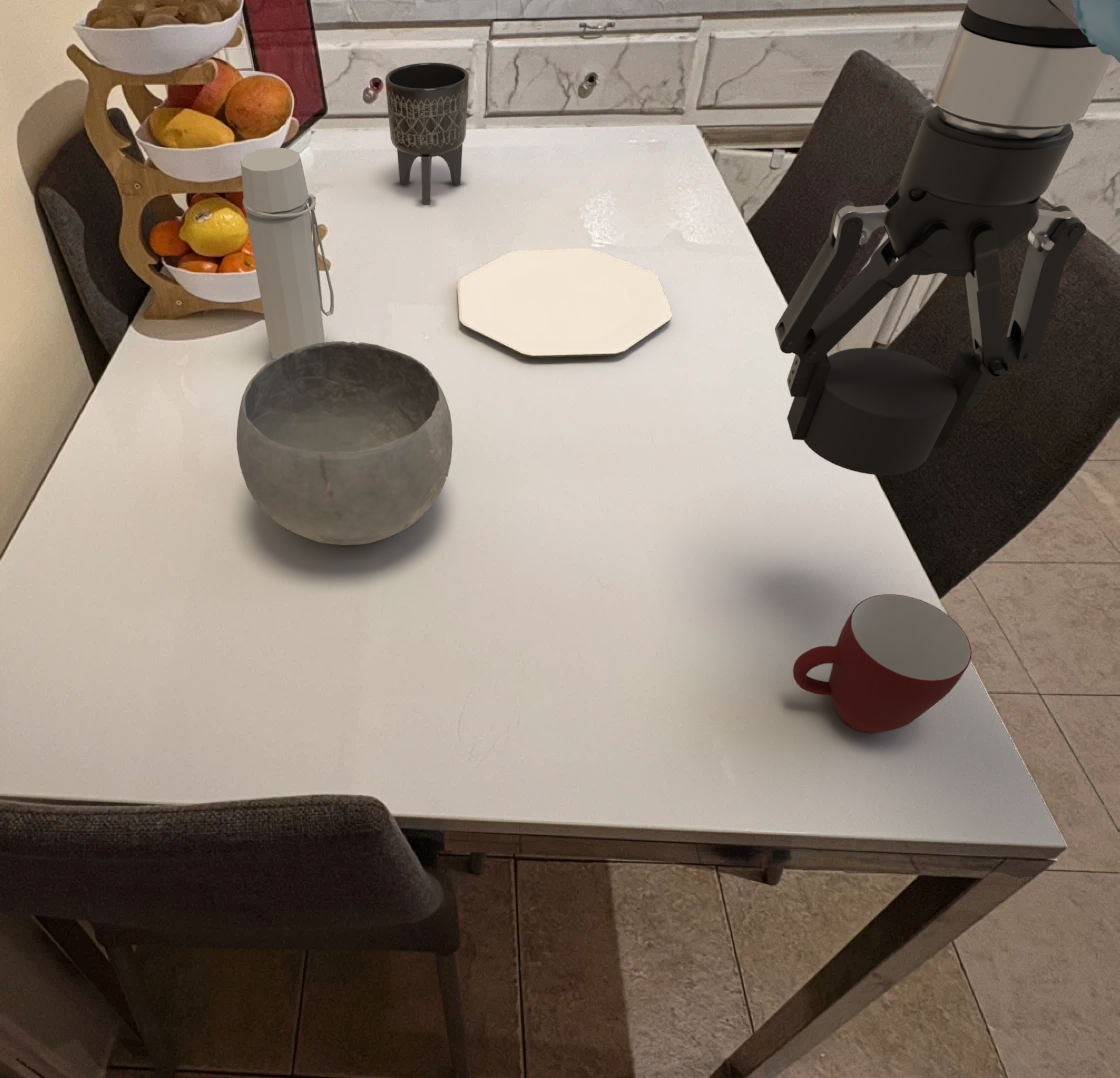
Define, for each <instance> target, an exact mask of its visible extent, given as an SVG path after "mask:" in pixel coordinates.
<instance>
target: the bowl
mask: <svg viewBox="0 0 1120 1078" xmlns="http://www.w3.org/2000/svg"><path fill="white" fill-rule="evenodd" d="M448 404H449V403H448V401H447V398H446V396H445V392H444V391H443V389H442V387H441V385H440V384H439V382H438V381H437V379H436V378H435V376H434V375H433V373H432V371H431V370H430V369H429V368H428V367H427V366H425V365H424V364H423V363H422V362H421V361H419V360H418V359H416V358H415V357H413V356H410V355H408V354H405V353H403V352H401V351H400V352H399V351H397V350H394V349H391V348H388V347H385V346H382V345H379V344H374V343H368V342H355V341H344V340H340V341H325V342H323V343H316V344H312V345H308V346H305V347H301V348H298V349H295V350H293V351H290V352H287V353H285V354H283V355H280V356H278V357H276V358H275V359H273V360H272V359H271V360H270V361H268V362H267V363H265V364H264V365H263V366H261V367H260V369H259V370H258V371H257V372H256V374H255V375H254V376H253V377H251V379H250V381H249V382H247V385H246V387H245V389H244V391H243V394H242V395H241V401H240V405H239V410H238V416H237V426H236V451H237V457H238V463H239V467H240V470H241V474H242V477H243V480H244V483H245V485H246V488H247V490H248V491H249V493H250V495H251V497H252V499H253V500H254V502H255V503H256V504H257V505H258V506H259V507H260V509H261V510H262V511H263V512H264V513H265V514H266V515H267V516H268V517H270V518H271V520H273V521H274V522H275V523H277V524H278V525H279V526H281V527H283V528H284V529H286V530H288V531H289V532H292V533H293V534H296V535H299V536H301V537H303V538H306V539H309V540H311V541H314V542H318V543H320V544H329V545H340V546H354V545H355V546H357V545H366V544H371V543H375V542H379V541H382V540H384V539H388V538H390V537H392V536H395V535H397V534H399V533H401V532H403V531H404V530H407V529H408V528H409V527H411V526H413V525H414V524H415V523H417V522H418V520H419V519H420V518H422V517H423V516H424V515H425V514H426V513H427V512H428V511H429V509H431V507H432V505H433V504H434V502H435V501H436V499H437V498H438V496H439V495H440V493H441V492H442V489H443V488H444V486H445V483H446V481H447V477H448V476H449V472H450V468H451V465H452V456H453V455H452V454H453V442H454V441H453V423H452V416H451V411H450V408H449V405H448Z"/></svg>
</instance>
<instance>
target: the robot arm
mask: <svg viewBox="0 0 1120 1078" xmlns="http://www.w3.org/2000/svg"><path fill="white" fill-rule="evenodd" d="M960 18H961V19H960V20H959V23H958V26H957V29H956V31H955V34H954V36H953V38H952V42H951V45H950V47H949V49H948V52H947V54H946V58H945V60H944V63H943V66H942V68H941V71H940V73H939V76H938V79H937V82H936V85H935V87H934V90H933V92H932V100H933V102H934V104H935V106H934V107H932V108H931V109H930V110H928V111H927V112H926V113H925V114H924V116H923V118H922V120H921V123H920V126H919V128H918V131H917V134H916V137H915V140H914V142H913V145H912V148H911V150H910V153H909V156H908V158H907V160H906V164H905V166H904V169H903V172H902V176H901V179H900V182H899V184H898V187H897V188H896V190H895V191H894V192H893V193H892V194H891V195H890V196H889V197H888V199H886V201H885V202H884V203H883V204H878V205H865V206H855V204H854V202H852V201H850V200H843V201H841V202H839V203H837V204H836V206H835V207H834V209H833V214H832V218H831V223H830V228H829V234H828V236H827V239H826V240H825V242H824V243H823V245H822V247H821V248H820V250H819V252H818V254H817V255H816V257H815V259H814V260H813V262H812V264H811V265H810V267H809V269H808V271H807V272H806V274H805V275H804V277H803V279H802V281H801V283H800V284H799V286H798V287H797V289H796V291H795V292H794V294H793V296H792V297H791V300H789V302H788V305H787V306H786V308H785V309H784V311H783V313H782V315H781V316H780V318H779V320H778V322H777V323H776V325H775V326H774V332H775V336H776V340H777V343H778V346H779V350H780V351H781V352H782V353H783V354H787V355H789V354H795V355H794V357H793V360H792V364H791V367H790V369H789V373H788V375H787V378H786V383H787V388H788V391H789V395H790V397H791V398H793V400H792V402H791V404H790V408H789V411H788V413H787V417H786V420H787V423H788V427H789V430H790V434H791V438H792V440H794V441H804V437H805V435H806V432H807V429H808V427H809V424H810V421H811V419H812V416H813V414H814V411H815V408H816V406H817V403H818V400H819V398H820V395H821V392H822V390H823V387H824V384H825V382H826V379H827V376H828V374H829V371H830V368H831V364H830V361H829V358H828V357H829V355H828V353H829V352H830V351H831V350H832V349H833V348H834V347H836V345H837V344H839V342H841V340H843V338H844V337H846V336H847V335H848V333H849V332H851V331H852V330H853V329H854V328H855V326H857V324H858V323H860V322H861V321H862V320H863V319H865V318H864V317H866V316H867V315H868V314H869V313H870V312H871V311H872V310H873V309H874V308H875V307H876V306H878V304H879V303H880V302H881V301H882V300H883V299H884V298H885V297H886V296H887V295H888V294H889V293H890V292H891V291H892V290H893V289H898V288H901V287H902V286H903V285H905V284H906V282H907V281H908V280H909V279H910V278H912V276H929V275H930V276H931V275H935V274H944V275H947V276H950V277H963V278H964V279H965V288H966V295H967V297H966V298H967V305H968V313H969V322H970V331H971V339H972V345H973V346H972V347H973V350H974V353H973V355H972V352H971V351H959V350H958V352H957V353H956V356H955V357H954V359H953V361H952V364H951V366H950V368H949V369H948V372H947V374H946V375H947V376H948V377H949V378H950V379H951V381H952V382H953V384H954V385H955V388H956V390H957V400H956V403H955V405H954V407H953V409H952V411H951V413H950V415H949V417H948V418H947V420H946V422H945V424H944V426H943V428H942V430H941V432H940V434H939V436H938V438H937V440H936V442H935V444H934V446H933V448H932V449H939V450H942V449H944V448H945V446H946V444H947V442H948V440H949V439H950V437H951V435H952V433H953V431H954V429H955V427H956V425H957V423H959V422H958V421H959V419H960V418H961V416H962V414H963V412H964V410H965V408H966V407H976V406H977V405H979V403H980V402H981V401H982V400H983V398H984V396H985V394H986V392H987V391H988V388H989V386H990V385H991V383H992V381H993V379H998V378H999V379H1000V378H1002V377H1005V375H1007V374H1008V373H1009V372H1010V370H1011V369H1010V364H1015V363H1019V364H1021V365H1025V366H1027V365H1031V364H1034V363H1035V362H1037V360H1039V358H1040V356H1041V353H1042V349H1043V347H1044V343H1045V342H1044V341H1045V338H1046V335H1047V331H1048V328H1049V323H1050V319H1051V316H1052V313H1053V309H1054V306H1055V301H1056V298H1057V294H1058V291H1059V287H1060V283H1061V280H1062V276H1063V273H1064V269H1065V265H1066V263H1067V259H1068V258H1069V256H1070V255H1071V253H1072V252H1073V251H1074V250H1075V248H1076V246H1077V245H1078V243H1079V242H1080V241H1081V239H1082V238H1083V236H1084V235H1085V233H1086V231H1087V226H1086V225H1085V223H1084V222H1083V221H1082V220H1081V219H1080V218H1079V217H1078V215H1076V214H1075V213H1074V212H1073V211H1072V210H1071V208H1070V207H1068V206H1067V205H1065V204H1064V205H1062V204H1061V205H1058V206H1055V207H1053V208H1052V209H1051V210H1049V209H1043V208H1039V202H1040V198H1041V196H1042V195H1043V194H1044V193H1045V192H1046V191H1047V190H1048V189H1049V186H1050V184H1051V183H1052V181H1053V179H1054V177H1055V175H1056V172H1057V171H1058V169H1059V166H1060V165H1061V163H1062V161H1063V158H1064V157H1065V155H1066V152H1067V151H1068V148H1069V147H1070V145H1071V142H1072V140H1073V138H1074V135H1075V133H1074V131H1073V126H1072V125H1071V124H1073V123H1075V122H1077V121H1079V120H1081V119H1082V118H1084V117H1085V115H1086V113H1087V112H1088V109H1089V107H1090V105H1091V103H1092V101H1093V99H1094V98H1095V95H1096V93H1097V90H1098V88H1099V86H1100V85H1101V82H1102V80H1103V78H1104V76H1105V74H1106V73H1107V70H1108V68H1109V66H1110V64H1111V63H1112V61H1113V58H1114V59H1115V60H1116V61H1117V62H1118V63H1119V64H1120V0H967V2H966V5H965V8H964V10H963V13H962V15H961V17H960ZM883 227H884V230H885V233H886V235H887V238H886V239H885V240H884V241H883V242H882V243H881V244H880V245H879V247H877V249H875V251H874V252H873V253H872V255H871V256H870V260H869V261H868V263H867V264H866V265H865V267H863V268H862V269H861V271H860V272H859V273H857V274H856V276H855V277H854V278H852V280H851V281H850V282H849V283H848V284H847V285H846V286H845V287H843V289H842V290H841V291H840V292H839V294H838V295H836V296H835V298H834V299H832V300H831V301H830V303H829V304H827V303H828V301H829V299H830V298H831V296H832V295H833V293H834V292H835V290H836V289H837V287H838V285H839V284H840V283H841V281H842V279H843V277H844V275H845V274H846V272H847V271H848V269H849V268H850V267H851V264H852V263H853V261H854V259H855V257H856V255H857V252H858V249H859V246H864V245H866V244H867V243H868V242H869V239H870V238H871V236H872V234H873V233H874V232H875V231H877V229H879V228H883ZM1026 234H1027V241H1028V242H1029V245H1028V248H1027V251H1026V254H1025V257H1024V258H1025V259H1024V263H1023V267H1022V271H1021V275H1020V279H1019V284H1018V287H1017V291H1016V296H1015V300H1014V304H1013V307H1012V308H1013V309H1012V313H1011V317H1010V321H1009V325H1008V329H1007V333H1006V336H1005V335H1004V326H1003V325H1004V324H1003V315H1002V304H1001V294H1000V284H1001V282H1002V280H1001V268H1000V258H999V255H1000V254H1001V253H1002V252H1004V251H1006V250H1007V249H1008V248H1009V247H1011V246H1012V245H1013V244H1014V243H1016V242H1017V241H1019V240H1020V239H1021V238H1023V237H1024V236H1025V235H1026ZM826 304H827V306H826ZM825 306H826V307H825Z"/></svg>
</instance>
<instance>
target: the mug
mask: <svg viewBox="0 0 1120 1078" xmlns="http://www.w3.org/2000/svg"><path fill="white" fill-rule="evenodd" d="M971 646H972V645H971V643H970V639H969V638H968V636H967V634H966V632H965V631H964V629H963V628H962V627H961V626H960V625H959V624H958V622H956V621H955V619H953V618H952V617H951V616H950V615H949V614H947V613H946V612H945V611H943V610H942V609H940V608H939V607H937V606H935V605H933V604H931V603H929V602H927V601H924V600H922V599H918V598H916V597H912V596H908V595H903V594H895V593H894V594H893V593H890V594H889V593H886V594H884V593H883V594H878V595H877V594H876V595H872V596H869V597H867V598H865V599H863V600H862V601H860V602H858V604H857V605H855V607H854V608H853V610H852V611H851V613H850V614H849V616H848V618H847V619H846V621H845V623H844V625H843V627H842V629H841V631H840V633H839V636H838V639H837V642H836V645H819V646H815V647H812V648H810V649H808V650H806V651H804V652H803V653H801V655H799V656H798V657H797V658H796V660H795V662H794V663H793V667H792V676H793V679H794V681H795V683H796V684H797V686H798V687H799V688H801V689H802V690H804V691H806V692H808V693H811V694H815V695H821V696H830V697H831V700H832V703H833V706H834V708H835V711H836V713H837V715H838V716H839V718H840V719H841V720H842V721H843V722H844V723H845V724H846V725H847V726H848V727H850V728H852V729H854V730H856V731H858V732H861V733H865V734H878V733H885V732H890V731H895V730H898V729H901V728H904V727H906V726H908V725H910V724H912V723H913V722H915V721H916V720H917V719H918V718H920V717H921V716H923V714H925V713H926V712H927V711H928V710H930V709H931V708H933V707H934V706H935V705H936V704H938V703H939V702H940V701H941V700H942V699H944V698H945V697H946V696H947V695H948V694H950V692H951V691H952V690H953V689H954V688H955V686H956V685H957V683H958V682H959V681H960V680H961V678H962V677H963V675H964V674H965V672H966V671H967V669H968V667H969V666H970V663H971V661H972V654H973V653H972V647H971ZM826 664H831V665H832V667H831V670H830V674H829V678H828V681H825V680H820V679H816V678H813V677H810V676H808V673H809V672H810V671H811V670H813V669H814V668H816V667H818V666H821V665H826Z"/></svg>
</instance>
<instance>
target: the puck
mask: <svg viewBox="0 0 1120 1078" xmlns="http://www.w3.org/2000/svg"><path fill="white" fill-rule="evenodd" d="M828 358H829V361H830V364H831V368H830V371H829V374H828V376H827V379H826V382H825V384H824V387H823V390H822V392H821V395H820V398H819V400H818V403H817V406H816V408H815V411H814V414H813V416H812V419H811V421H810V424H809V427H808V429H807V432H806V435H805V437H804V440H803V442H804V444H805V445H806V446H807V447H808V448H809V449H810V450H812V452H813V453H814V454H816V456H817V455H818V456H819V457H820V458H822V459H823V460H825V461H827V462H828V463H831V464H833V465H835V466H838V467H840V468H843V469H846V470H848V471H851V472H855V473H860V474H867V475H872V476H873V475H876V476H896V475H901V474H907V473H910V472H911V471H914V470H916V469H917V468H919V467H921V466H922V465H923V464H925V462H926V461H927V460H928V458H929V456H930V454H931V452H932V450H933V449H934V448H933V446H934V444H935V442H936V440H937V438H938V436H939V434H940V432H941V430H942V428H943V426H944V424H945V422H946V420H947V418H948V417H949V415H950V413H951V411H952V409H953V407H954V405H955V403H956V400H957V390H956V388H955V385H954V384H953V382H952V381H951V379H950V378H949V377H948V376H947V374H946V373H945V372H943V371H942V370H941V369H940V368H938V367H937V366H935V365H933V364H932V363H930V362H928V361H926V360H924V359H922V358H919V357H916V356H914V355H910V354H909V353H905V352H902V351H901V352H900V351H897V350H892V349H886V348H877V347H855V348H853V347H852V348H848V349H843V350H840V351H836V352H834V353H832V354H830V355H828Z"/></svg>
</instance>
